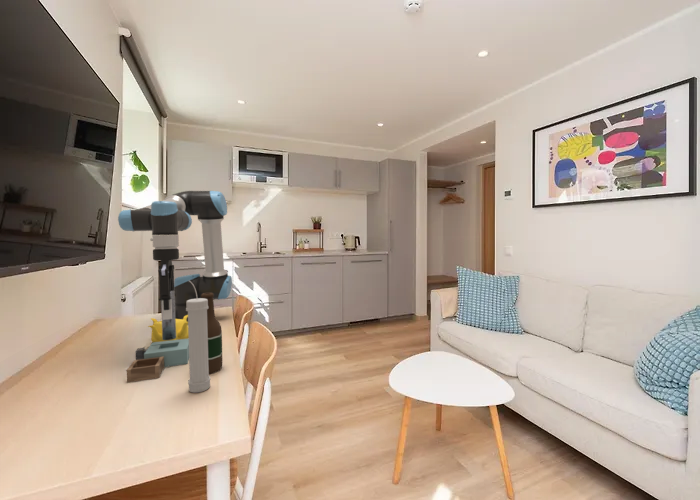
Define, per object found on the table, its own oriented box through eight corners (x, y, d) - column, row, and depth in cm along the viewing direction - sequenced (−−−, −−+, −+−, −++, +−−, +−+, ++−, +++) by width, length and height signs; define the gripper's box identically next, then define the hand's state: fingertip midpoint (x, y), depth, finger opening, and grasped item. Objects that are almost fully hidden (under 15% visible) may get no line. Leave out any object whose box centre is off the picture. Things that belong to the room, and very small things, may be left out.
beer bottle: (197, 377, 93) (195, 296, 92) (193, 368, 99) (191, 292, 98) (225, 371, 97) (223, 293, 96) (220, 362, 103) (218, 290, 103)
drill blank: (163, 337, 107) (161, 290, 107) (176, 335, 109) (175, 290, 108) (161, 340, 104) (159, 292, 103) (175, 339, 105) (173, 291, 104)
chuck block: (152, 356, 110) (152, 342, 110) (191, 351, 114) (190, 338, 114) (144, 369, 99) (143, 354, 98) (187, 363, 103) (186, 348, 103)
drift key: (138, 358, 108) (137, 348, 108) (171, 354, 111) (170, 344, 111) (135, 361, 105) (135, 350, 105) (169, 356, 109) (169, 346, 109)
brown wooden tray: (134, 371, 97) (134, 360, 97) (164, 367, 100) (163, 356, 100) (126, 382, 90) (126, 370, 90) (159, 377, 93) (158, 365, 92)
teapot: (151, 339, 130) (150, 315, 129) (189, 334, 136) (189, 311, 136) (147, 350, 117) (147, 324, 116) (190, 343, 123) (189, 319, 123)
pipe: (214, 384, 88) (211, 277, 87) (202, 395, 82) (198, 280, 81) (196, 383, 89) (192, 277, 88) (181, 394, 82) (178, 280, 81)
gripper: (158, 247, 111) (160, 312, 113) (146, 249, 96) (149, 325, 97) (181, 246, 114) (184, 310, 115) (174, 248, 98) (177, 322, 99)
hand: (168, 317), depth 106 cm, fingers closed on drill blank, 4 cm apart
